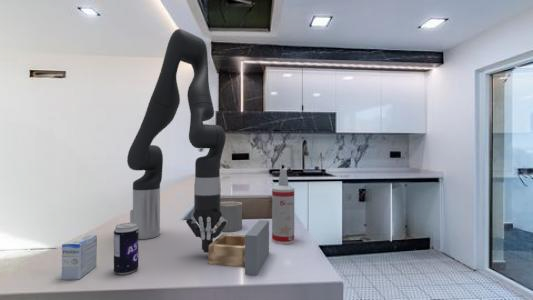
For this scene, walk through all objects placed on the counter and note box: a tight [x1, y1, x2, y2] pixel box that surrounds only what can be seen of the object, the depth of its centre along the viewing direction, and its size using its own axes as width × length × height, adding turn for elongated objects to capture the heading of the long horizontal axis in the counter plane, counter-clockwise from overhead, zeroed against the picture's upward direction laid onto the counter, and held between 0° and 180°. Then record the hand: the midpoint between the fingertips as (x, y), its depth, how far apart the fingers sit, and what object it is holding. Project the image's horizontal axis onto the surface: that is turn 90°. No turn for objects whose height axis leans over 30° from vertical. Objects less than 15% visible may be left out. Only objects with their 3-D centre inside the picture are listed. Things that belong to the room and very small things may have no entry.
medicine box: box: [61, 234, 98, 281], centre depth 73 cm, size 8×4×9 cm, turn 5°
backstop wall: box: [244, 219, 270, 277], centre depth 79 cm, size 3×16×10 cm, turn 168°
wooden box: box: [208, 233, 246, 268], centre depth 82 cm, size 11×11×5 cm
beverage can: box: [113, 222, 139, 276], centre depth 73 cm, size 6×6×12 cm
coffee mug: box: [215, 201, 243, 233], centre depth 114 cm, size 13×10×10 cm
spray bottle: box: [271, 168, 295, 246], centre depth 99 cm, size 8×8×25 cm
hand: (207, 251), depth 84 cm, fingers closed
